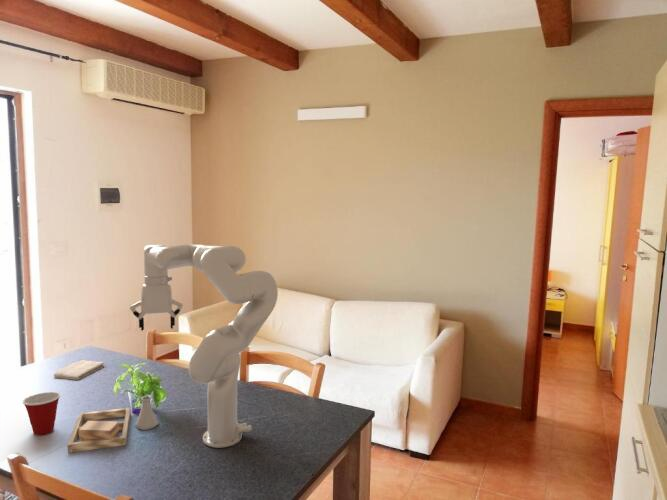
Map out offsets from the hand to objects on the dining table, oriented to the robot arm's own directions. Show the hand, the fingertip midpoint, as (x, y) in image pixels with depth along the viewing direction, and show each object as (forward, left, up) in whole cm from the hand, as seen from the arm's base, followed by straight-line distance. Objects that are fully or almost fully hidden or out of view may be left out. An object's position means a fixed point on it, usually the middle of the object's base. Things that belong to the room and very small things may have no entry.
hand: (157, 328), depth 173 cm
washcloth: (+33, -52, -33) cm, 70 cm away
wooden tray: (+18, +7, -32) cm, 38 cm away
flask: (+4, +6, -33) cm, 33 cm away
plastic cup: (+36, +1, -32) cm, 49 cm away
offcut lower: (+18, +14, -33) cm, 40 cm away
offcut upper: (+18, +14, -30) cm, 37 cm away
